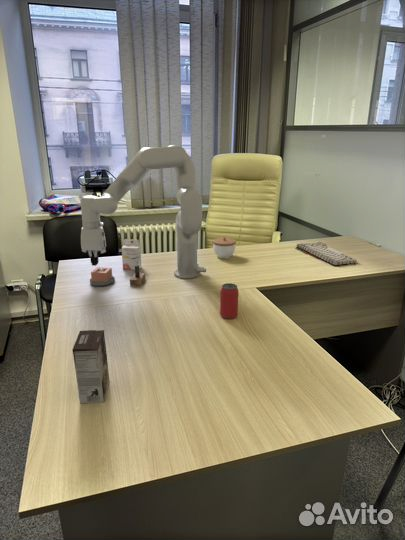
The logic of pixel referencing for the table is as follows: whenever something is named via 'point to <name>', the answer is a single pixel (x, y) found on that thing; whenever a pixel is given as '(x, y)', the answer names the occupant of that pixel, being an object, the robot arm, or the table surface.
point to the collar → (101, 275)
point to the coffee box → (91, 366)
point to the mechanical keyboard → (325, 254)
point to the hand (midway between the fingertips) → (94, 264)
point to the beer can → (229, 301)
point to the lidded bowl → (224, 247)
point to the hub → (102, 284)
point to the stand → (137, 277)
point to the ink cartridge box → (131, 254)
